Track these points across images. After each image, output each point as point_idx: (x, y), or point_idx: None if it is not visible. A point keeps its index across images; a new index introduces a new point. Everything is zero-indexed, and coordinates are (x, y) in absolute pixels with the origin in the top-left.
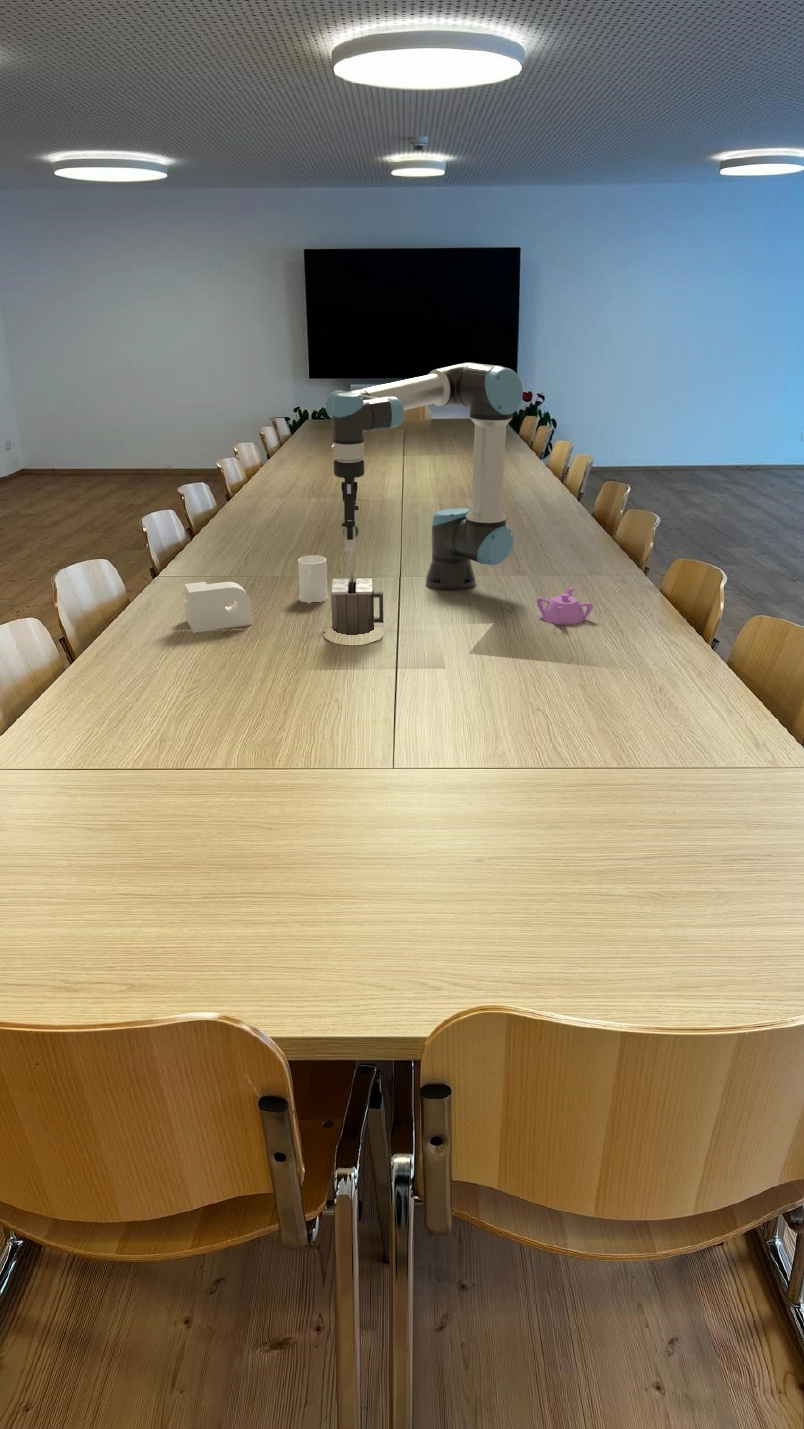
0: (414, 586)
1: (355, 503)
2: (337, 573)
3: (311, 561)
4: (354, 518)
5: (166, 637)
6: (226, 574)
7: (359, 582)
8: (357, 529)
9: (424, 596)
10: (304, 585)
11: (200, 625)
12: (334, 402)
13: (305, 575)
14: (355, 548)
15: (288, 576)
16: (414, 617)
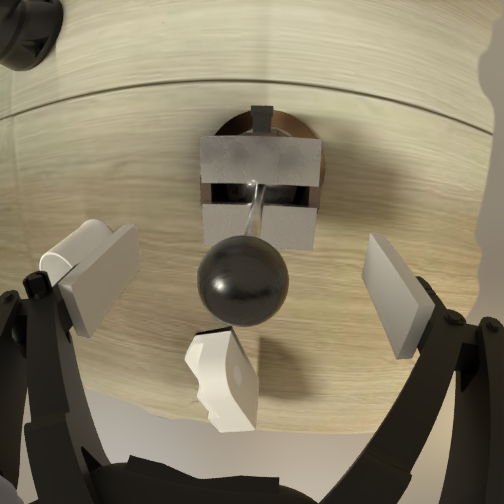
0: (39, 82)
1: (9, 300)
2: (11, 212)
3: (50, 272)
4: (461, 344)
5: (258, 399)
6: None
7: (236, 173)
8: (259, 253)
9: (77, 54)
10: None
11: (255, 385)
12: None
13: None
14: (388, 241)
15: None
16: (175, 53)
